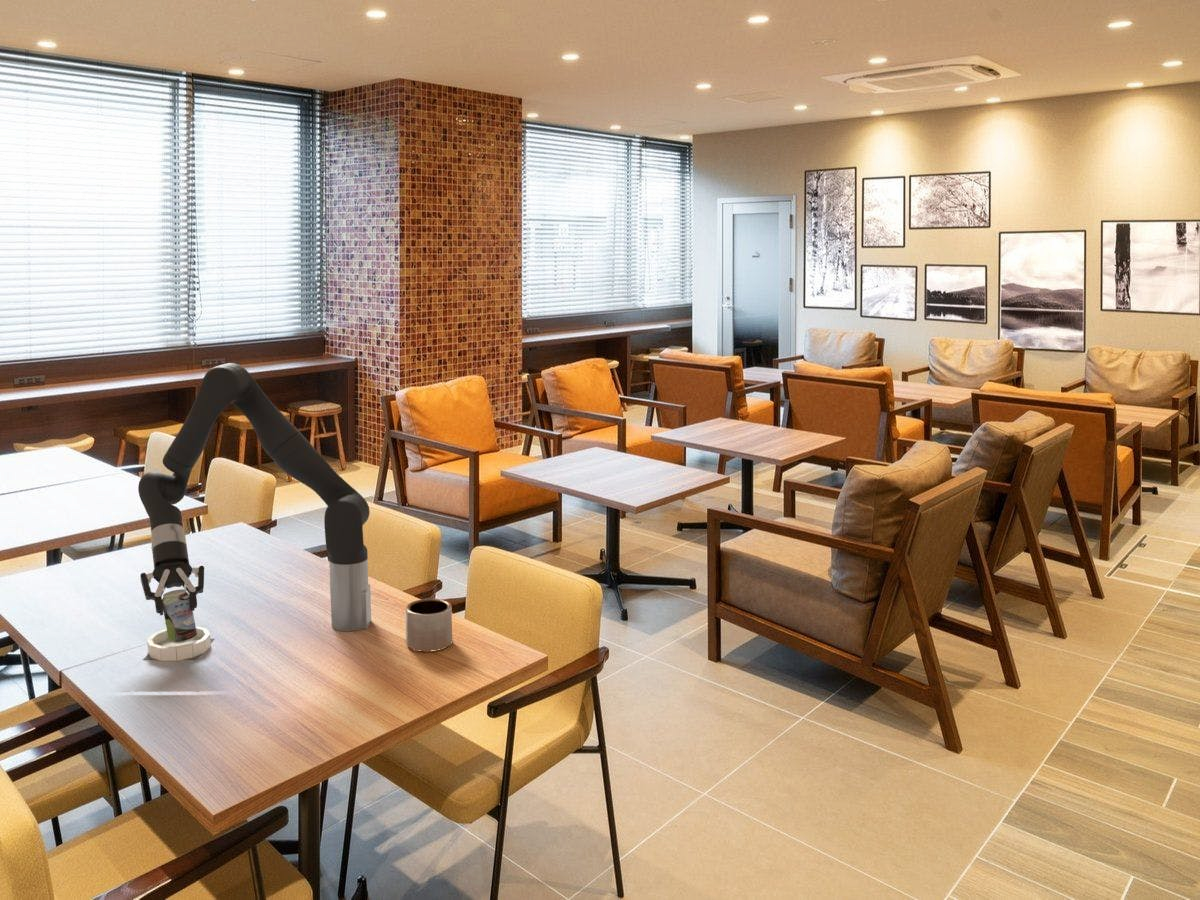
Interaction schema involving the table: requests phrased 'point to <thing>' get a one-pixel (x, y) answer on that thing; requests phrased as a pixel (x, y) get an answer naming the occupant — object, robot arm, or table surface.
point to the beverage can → (179, 616)
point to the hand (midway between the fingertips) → (177, 611)
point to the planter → (428, 624)
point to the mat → (183, 659)
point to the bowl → (178, 646)
